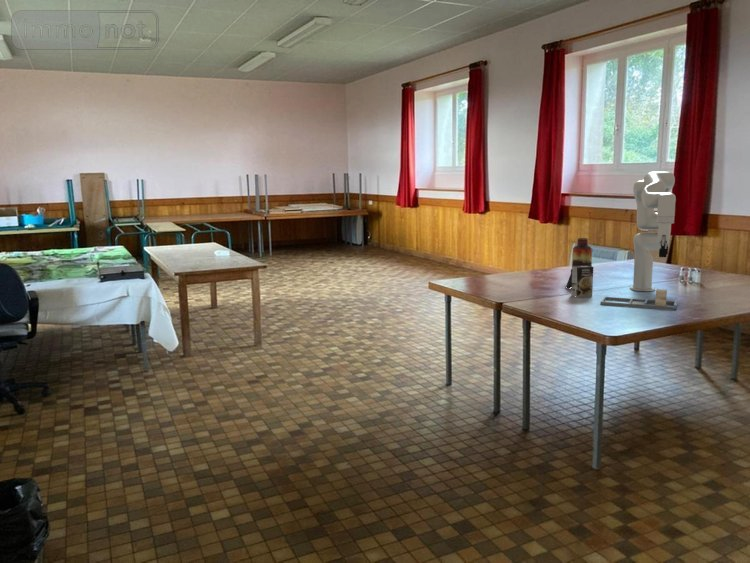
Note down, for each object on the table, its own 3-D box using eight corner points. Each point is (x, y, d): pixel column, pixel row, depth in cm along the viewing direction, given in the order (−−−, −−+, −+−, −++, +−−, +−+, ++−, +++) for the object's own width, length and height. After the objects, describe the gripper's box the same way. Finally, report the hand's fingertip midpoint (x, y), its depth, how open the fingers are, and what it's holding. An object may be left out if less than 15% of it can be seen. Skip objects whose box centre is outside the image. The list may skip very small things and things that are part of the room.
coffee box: (577, 297, 322) (577, 267, 320) (570, 295, 329) (571, 265, 326) (592, 296, 324) (593, 266, 321) (586, 294, 330) (587, 264, 327)
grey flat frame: (604, 299, 316) (604, 294, 316) (676, 304, 300) (677, 299, 300) (600, 304, 304) (600, 299, 304) (675, 310, 288) (675, 305, 288)
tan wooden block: (655, 305, 301) (656, 289, 299) (666, 305, 298) (666, 289, 297) (655, 306, 297) (655, 290, 295) (665, 307, 295) (666, 291, 293)
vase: (591, 283, 361) (592, 239, 357) (571, 283, 365) (572, 239, 360) (590, 280, 372) (592, 237, 367) (571, 279, 375) (572, 237, 370)
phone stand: (565, 288, 348) (566, 267, 346) (570, 287, 352) (571, 266, 350) (580, 290, 342) (580, 269, 340) (585, 288, 346) (586, 267, 344)
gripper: (658, 218, 300) (656, 252, 303) (655, 221, 285) (653, 257, 288) (675, 218, 296) (672, 253, 299) (673, 221, 281) (670, 258, 284)
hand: (663, 255), depth 293 cm, fingers open, 9 cm apart
